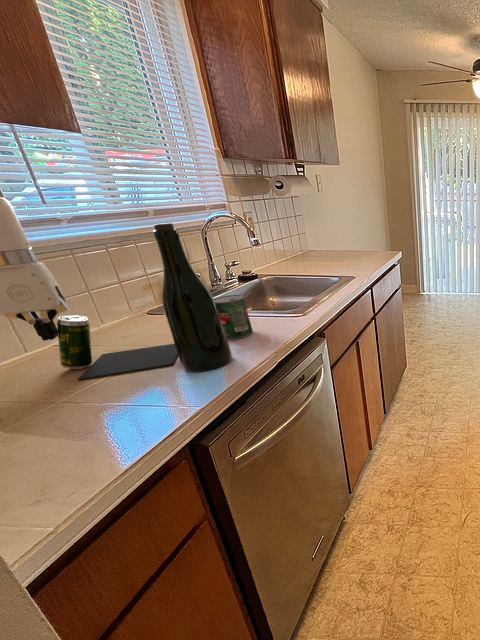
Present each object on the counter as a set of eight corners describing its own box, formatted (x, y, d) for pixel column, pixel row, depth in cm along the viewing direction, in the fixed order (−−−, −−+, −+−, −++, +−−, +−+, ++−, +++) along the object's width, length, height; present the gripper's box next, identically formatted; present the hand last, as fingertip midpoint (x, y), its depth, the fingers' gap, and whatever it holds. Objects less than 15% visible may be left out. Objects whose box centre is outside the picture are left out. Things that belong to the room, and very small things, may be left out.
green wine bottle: (186, 360, 100) (137, 222, 87) (233, 352, 105) (194, 220, 91) (180, 376, 92) (125, 227, 78) (232, 367, 96) (189, 223, 83)
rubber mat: (78, 380, 91) (77, 378, 91) (103, 355, 104) (102, 353, 104) (172, 365, 98) (172, 363, 98) (184, 343, 111) (184, 342, 111)
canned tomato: (216, 339, 114) (204, 301, 109) (236, 329, 121) (225, 294, 116) (240, 340, 113) (229, 302, 108) (259, 330, 120) (249, 295, 115)
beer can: (82, 359, 100) (79, 313, 96) (97, 366, 99) (95, 319, 95) (54, 364, 95) (50, 316, 91) (70, 371, 94) (67, 322, 90)
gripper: (-51, 265, 79) (-2, 349, 87) (48, 258, 85) (85, 338, 93) (-27, 259, 86) (16, 338, 93) (63, 252, 91) (97, 328, 99)
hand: (50, 338), depth 93 cm, fingers closed
